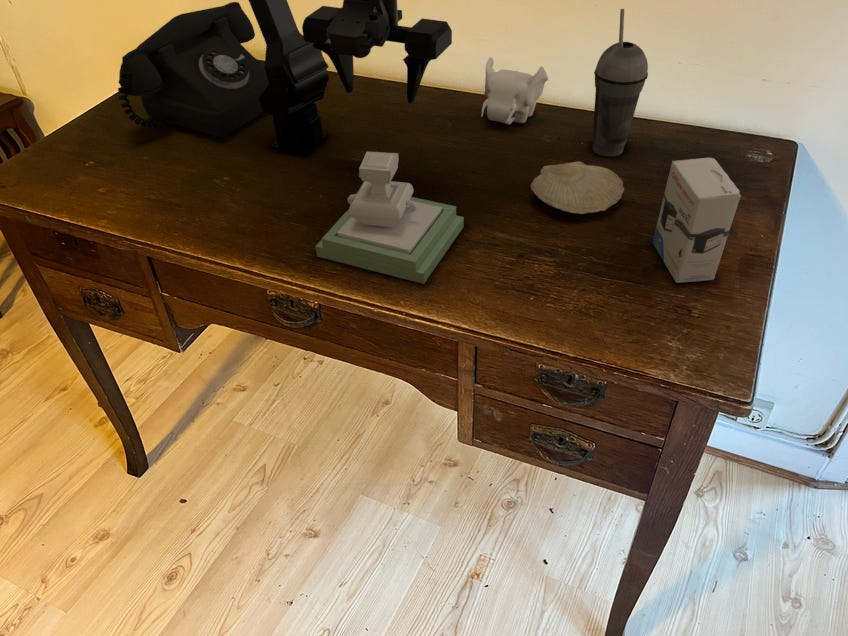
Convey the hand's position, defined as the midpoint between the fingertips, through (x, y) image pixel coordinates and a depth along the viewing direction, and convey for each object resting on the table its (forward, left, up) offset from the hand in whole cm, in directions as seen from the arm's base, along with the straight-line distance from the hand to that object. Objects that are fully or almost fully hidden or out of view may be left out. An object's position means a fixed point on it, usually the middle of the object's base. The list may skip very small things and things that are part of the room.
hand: (380, 97), depth 99 cm
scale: (+8, -14, -12) cm, 20 cm away
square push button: (+8, -14, -10) cm, 19 cm away
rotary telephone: (-36, +8, -12) cm, 39 cm away
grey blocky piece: (+7, -15, -9) cm, 18 cm away
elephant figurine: (+11, +23, -12) cm, 28 cm away
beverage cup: (+28, +19, -12) cm, 36 cm away
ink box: (+43, -5, -12) cm, 45 cm away
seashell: (+27, +4, -12) cm, 30 cm away
